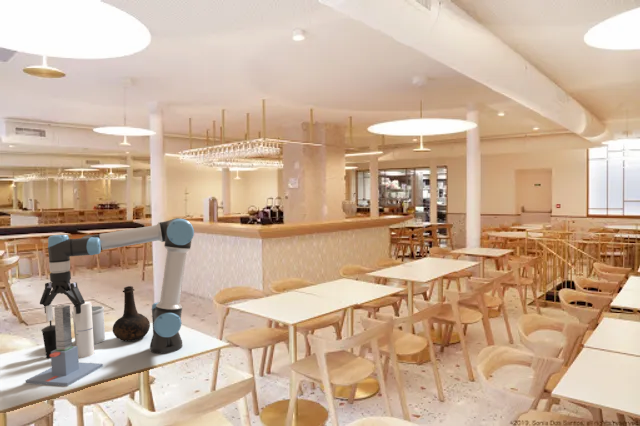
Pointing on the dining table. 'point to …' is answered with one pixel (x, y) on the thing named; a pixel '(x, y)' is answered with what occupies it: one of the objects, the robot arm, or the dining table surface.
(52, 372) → the stand
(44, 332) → the drinking cup
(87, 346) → the cylindrical container
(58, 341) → the column
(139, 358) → the dining table surface
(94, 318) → the utensil holder
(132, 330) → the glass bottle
